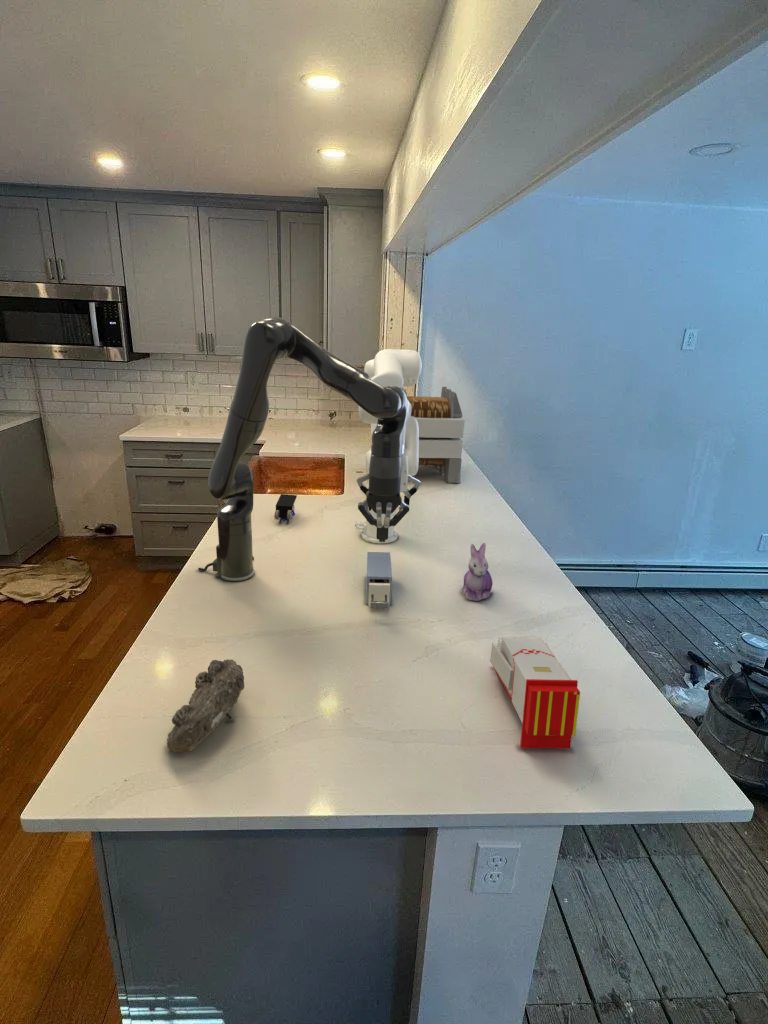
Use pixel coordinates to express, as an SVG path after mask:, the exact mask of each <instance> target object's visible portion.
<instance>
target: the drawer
mask: <svg viewBox="0 0 768 1024" xmlns="http://www.w3.org/2000/svg"><path fill="white" fill-rule="evenodd" d="M389 595H390V583H387V580H384V579H371V583H369V601H368V604H367V605H368V606H367V607H368V608H370V609H389V607H390V605H389Z"/></svg>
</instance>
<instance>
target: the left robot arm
mask: <svg viewBox="0 0 768 1024" xmlns="http://www.w3.org/2000/svg"><path fill="white" fill-rule="evenodd" d="M244 339H245V340H244V345H243V352H242V358H241V365H240V371H239V375H238V378H237V382H236V386H235V390H234V394H233V398H232V401H231V404H230V406H229V407H230V408H229V411H228V414H227V418H226V419H227V420H226V424H225V428H224V431H223V434H222V438H221V442H220V444H219V448H218V449H217V452H216V455H215V457H214V460H213V462H212V464H211V467H210V470H209V473H208V479H207V484H208V489H209V492H210V494H211V496H212V497H213V498H215V499H217V500H227V501H226V502H225V503H224V504H223V505H221V506H220V507H219V508H218V510H217V511H216V521H217V534H218V537H217V538H218V544H217V545H216V547H215V551H216V552H215V553H216V554H215V555H216V558H215V559H214V560H213V561H212V562H210V563H207V564H206V565H205V567H204V568H203V567H198V569H197V570H198V571H201V572H205V571H207V570H208V568H209V567H211V566H212V572H215V573H216V572H217V577H218V578H220V579H222V580H225V581H227V582H243V581H246V580H249V579H250V578H252V577H253V576H254V573H255V571H254V562H255V557H254V552H253V530H252V513H253V510H254V495H255V494H254V493H255V491H254V490H255V488H254V487H255V486H254V485H255V484H254V482H255V481H254V475H253V471H252V470H251V468H250V466H249V465H248V464H247V463H246V462H243V461H241V460H242V458H243V457H244V456H245V455H246V454H247V452H248V451H249V450H250V449H251V448H252V447H253V446H254V445H255V444H256V442H257V441H258V440H259V438H260V437H261V435H262V433H263V432H264V429H265V425H266V422H267V419H268V417H269V416H268V415H269V411H270V402H269V401H270V400H269V395H268V381H269V378H270V376H271V372H272V369H273V367H274V365H275V363H276V361H277V360H280V359H283V358H289V359H291V360H294V361H295V362H298V363H301V364H302V365H304V366H305V367H307V368H308V369H309V370H310V371H312V372H313V374H314V375H316V377H317V378H318V379H319V380H320V381H321V382H322V383H323V384H324V385H325V386H327V387H328V388H329V389H331V390H333V391H335V392H336V393H338V394H339V395H341V396H344V397H345V398H347V399H349V400H350V401H353V403H355V404H356V405H357V406H358V407H359V406H360V407H361V408H362V409H363V410H365V411H366V412H367V413H369V414H370V415H372V416H373V417H375V418H378V420H377V426H376V428H375V430H374V431H373V434H372V437H371V443H370V449H371V458H370V467H369V493H368V495H367V496H366V498H365V499H364V500H363V501H361V502H359V503H357V509H358V511H359V512H360V513H361V515H362V516H363V517H364V519H365V520H367V521H368V522H369V524H370V525H374V526H376V527H377V534H376V538H377V540H379V542H385V540H387V539H388V529H389V527H390V526H394V527H396V526H397V525H398V524H399V523H400V521H402V519H403V518H404V517H405V516H406V515H407V514H408V513H409V512H410V504H409V505H408V504H405V503H404V501H403V498H402V496H401V492H400V485H401V471H402V469H401V467H402V463H401V447H402V432H403V428H404V423H405V418H406V413H407V397H406V394H405V393H404V391H403V390H402V389H401V388H400V387H398V386H394V385H391V386H387V387H383V386H380V385H379V384H377V383H375V382H374V381H372V380H371V378H370V376H369V375H368V374H367V373H366V372H364V370H362V369H361V368H359V367H357V366H355V365H354V364H351V363H349V362H348V361H346V360H344V359H342V358H340V357H339V356H337V355H335V354H334V353H332V352H330V351H329V350H328V349H326V348H324V346H321V345H320V344H319V343H317V342H316V341H315V340H313V339H312V338H311V337H309V336H308V335H306V334H305V333H304V332H303V331H301V330H300V329H299V328H298V327H296V326H295V325H294V324H292V323H291V322H290V321H288V320H287V319H285V318H282V317H278V316H277V317H276V316H274V317H269V318H265V319H261V320H257V321H255V322H253V324H251V325H250V327H249V328H248V330H247V332H246V335H245V338H244ZM368 504H369V506H370V507H371V508H372V510H373V511H374V512H375V513H377V519H374V517H373V516H372V515H371V513H370V512H369V511H368ZM397 509H398V511H397V512H396V513H395V512H394V511H396V510H397ZM393 512H394V513H395V514H394V517H393V518H392V519H390V516H391V514H392V513H393ZM382 514H385V517H384V525H383V526H382Z"/></svg>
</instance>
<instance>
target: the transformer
mask: <svg viewBox="0 0 768 1024" xmlns="http://www.w3.org/2000/svg"><path fill="white" fill-rule="evenodd" d="M402 390H403V391H404V393H405V394H406V397H407V400H408V401H409V403H410V404H411V416H412V417H414V418H416V420H417V422H418V426H419V466H418V467H436V468H437V470H438V469H439V473H440V474H441V475H443V478H444V479H445V481H446V482H447V483H449V484H455V483H456V484H459V483H461V472H462V461H463V460H462V453H463V442H464V441H463V440H462V439H463V438H464V431H465V430H464V429H465V419H464V418H463V411H462V408H461V405H460V402H459V398H458V395H457V392H455V391H453V390H452V389H451V388H447V386H442V387H441V392H440V393H441V394H440V396H415V395H414V396H413V395H412V396H411V395H407V394H408V393H407V390H406V389H404V388H403V387H402Z"/></svg>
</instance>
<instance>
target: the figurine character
mask: <svg viewBox="0 0 768 1024" xmlns="http://www.w3.org/2000/svg"><path fill="white" fill-rule="evenodd" d="M297 497H298V495H297V494H285V493H280V495H279V497H278V500H277V501H276V504H275V511H274V520H278V524H279V525H280V524H282V522H286V524H287V525H289V523H290V520H291V521H292V519H293V517H294V516H295V515H296V512H295V508H296V507H295V502H296V500H297Z"/></svg>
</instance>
